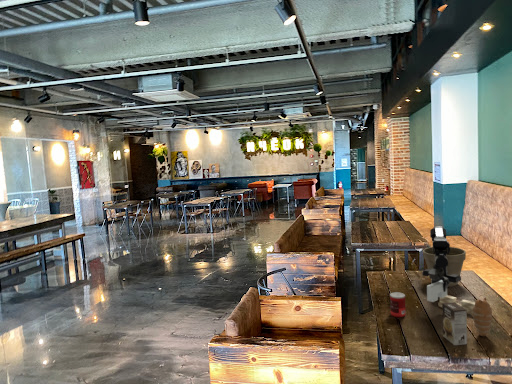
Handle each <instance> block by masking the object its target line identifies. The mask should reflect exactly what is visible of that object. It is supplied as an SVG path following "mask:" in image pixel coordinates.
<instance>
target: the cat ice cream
mask: <svg viewBox="0 0 512 384" xmlns="http://www.w3.org/2000/svg"><path fill="white" fill-rule="evenodd" d="M474 302H475V306H474V307H473V314H472V315H473V316H472V317H473V324H474V327H475V329H476V332H477V334H478V335H479V336H480V337H486V336H487V335H488V333H489V331H490V329H491V325H492V320H493V316H492V314H493V309H492V307H491V305H490V303H489V302H488V301H487V297H486V296H484V297H483V298H479V299H477V300H475V301H474Z"/></svg>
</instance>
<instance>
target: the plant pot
mask: <svg viewBox="0 0 512 384" xmlns="http://www.w3.org/2000/svg"><path fill="white" fill-rule="evenodd" d="M434 251H435V250H434ZM444 251H447V252H448V249H447V250H444ZM466 254H467V252H466V250H465V249H462V248H459V247H455V246H450V252H449V254H447V260H448V266H447V272H448V274H447V275H452V274H456V275H460V276H461V274H462V270H463V266H464V262H465V260H466V258H467V257H466ZM422 258H423V259H424V260H425V263H426V267H427V269H433V266H434V264H435V253H433V246H431V247H425V248H423V250H422ZM458 283H459V282H457V283H453V282H450V283H449V285H448V287H447V288H450V287H451V288H452V287H455V286H458Z"/></svg>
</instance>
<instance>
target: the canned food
mask: <svg viewBox="0 0 512 384" xmlns="http://www.w3.org/2000/svg"><path fill="white" fill-rule="evenodd" d="M389 305H390V306H389V307H390V309H389V310H390V315H391V316H392V317H395V318H404V317H406V314H407V313H406V312H407V311H406V295H405V293H402V292H399V291H395V292H391V293H389Z"/></svg>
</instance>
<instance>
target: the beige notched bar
mask: <svg viewBox="0 0 512 384" xmlns="http://www.w3.org/2000/svg"><path fill="white" fill-rule="evenodd" d="M453 302H455V303H457V304H458V305H460V306H462V307H463V308H465V309H466V310H467V315H470V316H471V317H473V315H472V314H473V307H474V306H475V302H476V301H472V300H467V299H462V300H460V302H461V303H458V302H457V297H455V296H452V295H448V294H447V296H445V297H443V298H441V297H440V298H439V302H437V303H438V304H437V305H438V308H439V307H440V308H443V306H442V303H453Z"/></svg>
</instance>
